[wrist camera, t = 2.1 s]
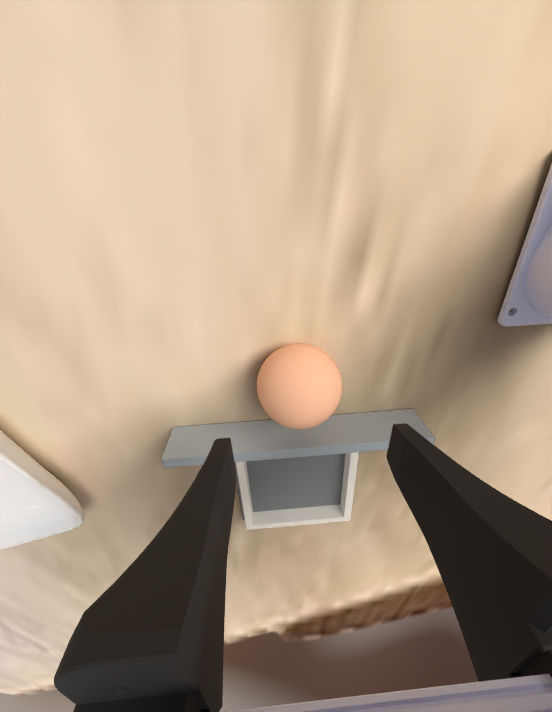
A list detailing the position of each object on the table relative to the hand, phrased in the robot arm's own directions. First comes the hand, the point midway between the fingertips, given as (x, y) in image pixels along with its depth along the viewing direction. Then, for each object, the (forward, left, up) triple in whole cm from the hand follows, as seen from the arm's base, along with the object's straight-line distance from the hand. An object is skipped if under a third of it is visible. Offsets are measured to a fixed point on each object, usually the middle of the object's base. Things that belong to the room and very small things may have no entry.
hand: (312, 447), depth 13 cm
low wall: (+5, 0, -7) cm, 9 cm away
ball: (0, 0, -5) cm, 5 cm away
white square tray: (+11, 0, -7) cm, 13 cm away
